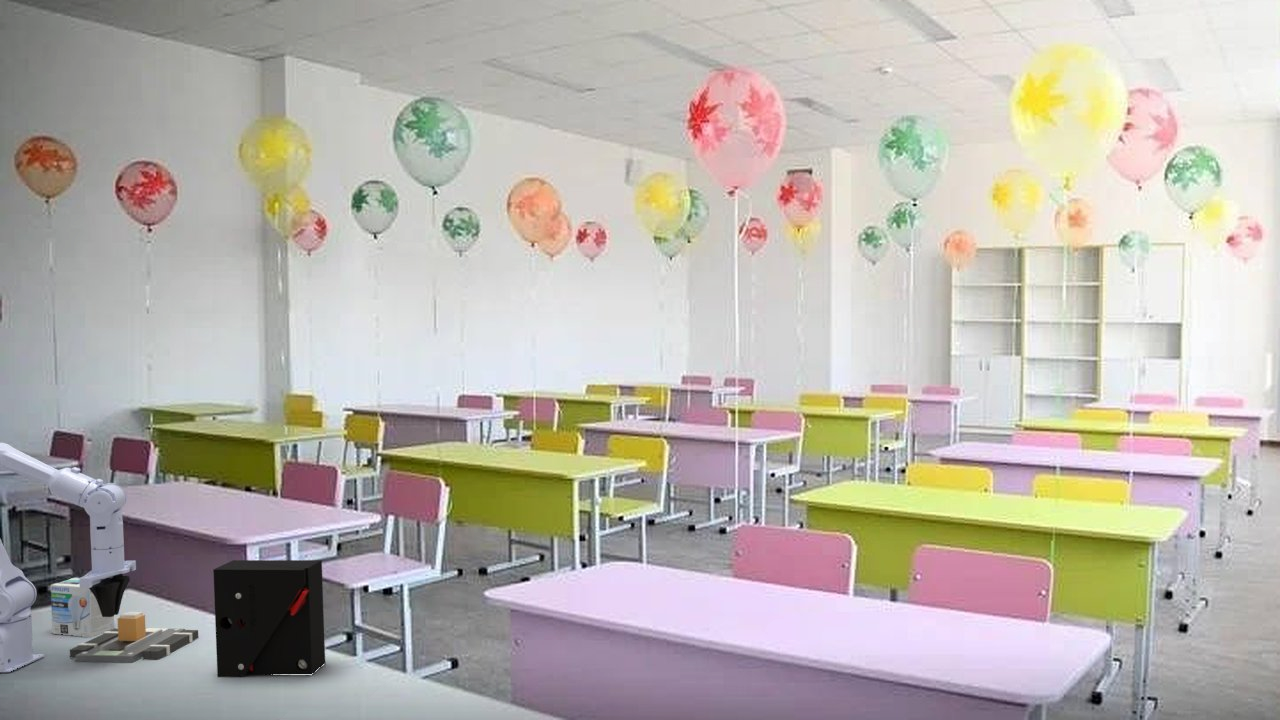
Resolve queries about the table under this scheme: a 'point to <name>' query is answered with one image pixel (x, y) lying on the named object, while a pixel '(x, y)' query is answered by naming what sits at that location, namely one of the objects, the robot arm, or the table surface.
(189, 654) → the table surface
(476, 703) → the table surface
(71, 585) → the light bulb box
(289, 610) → the electrical component
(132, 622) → the breaker knob
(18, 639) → the robot arm
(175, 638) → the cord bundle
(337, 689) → the table surface
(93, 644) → the cord bundle
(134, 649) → the breaker panel
